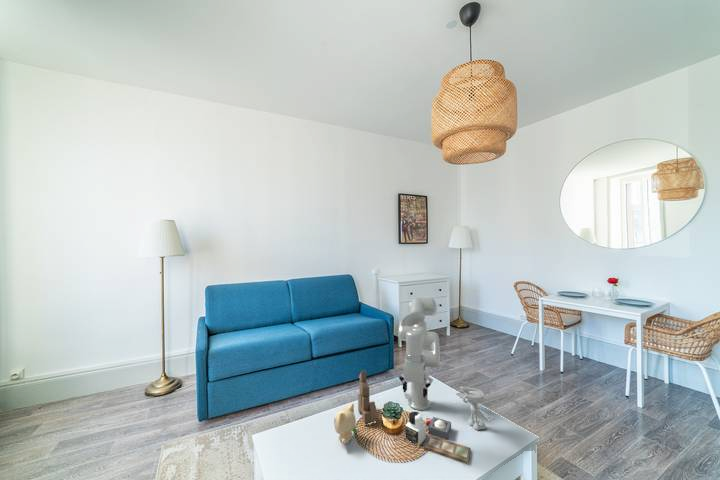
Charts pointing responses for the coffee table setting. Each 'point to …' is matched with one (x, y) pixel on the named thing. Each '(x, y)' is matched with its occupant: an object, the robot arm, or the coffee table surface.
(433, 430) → the dome housing
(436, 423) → the dome
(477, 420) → the cartoon character
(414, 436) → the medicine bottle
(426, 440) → the frame
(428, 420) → the red die
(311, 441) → the coffee table surface
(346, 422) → the kitten
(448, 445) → the board
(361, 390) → the wooden toy
